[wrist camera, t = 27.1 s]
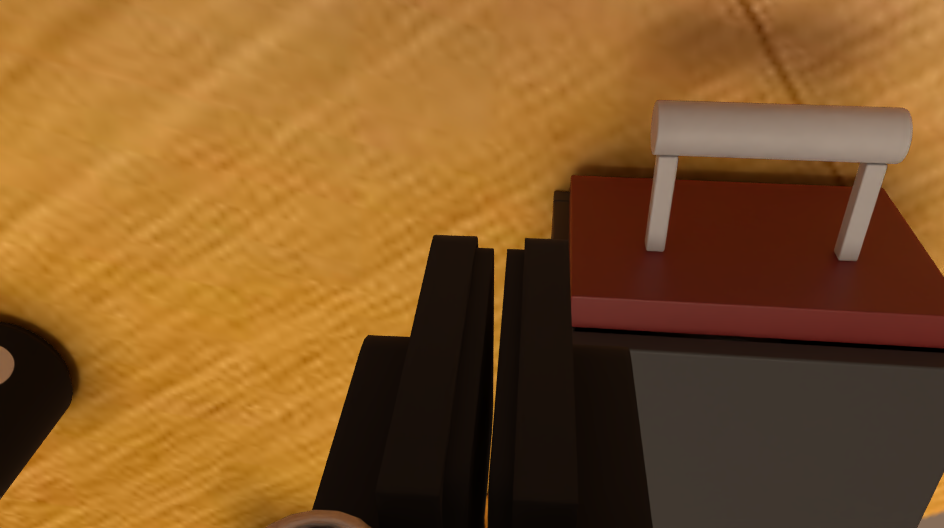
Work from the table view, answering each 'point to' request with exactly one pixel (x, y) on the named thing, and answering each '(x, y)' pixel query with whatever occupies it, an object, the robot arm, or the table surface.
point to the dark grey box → (782, 428)
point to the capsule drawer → (757, 235)
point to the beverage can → (28, 397)
